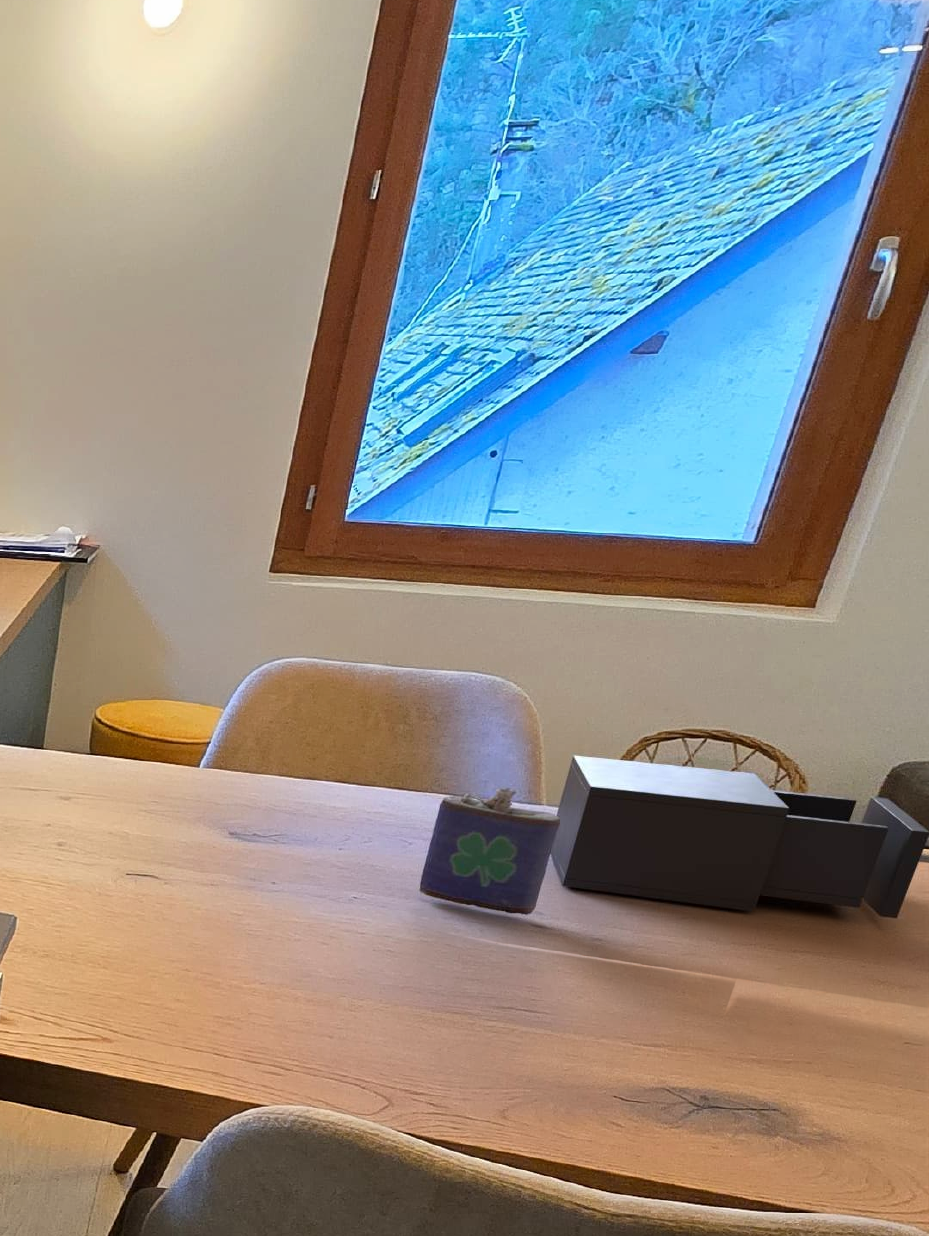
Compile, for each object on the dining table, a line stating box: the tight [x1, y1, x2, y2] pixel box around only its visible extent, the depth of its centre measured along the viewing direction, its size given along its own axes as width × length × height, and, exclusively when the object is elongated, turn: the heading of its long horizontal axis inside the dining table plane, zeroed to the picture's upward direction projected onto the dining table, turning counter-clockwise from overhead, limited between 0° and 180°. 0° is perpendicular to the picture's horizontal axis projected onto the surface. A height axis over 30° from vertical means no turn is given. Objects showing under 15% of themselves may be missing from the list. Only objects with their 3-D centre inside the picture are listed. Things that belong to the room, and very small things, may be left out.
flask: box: [418, 787, 560, 916], centre depth 121 cm, size 9×3×11 cm, turn 52°
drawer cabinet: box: [550, 755, 789, 912], centre depth 128 cm, size 15×13×10 cm
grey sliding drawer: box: [760, 789, 929, 919], centre depth 123 cm, size 19×11×8 cm, turn 64°
